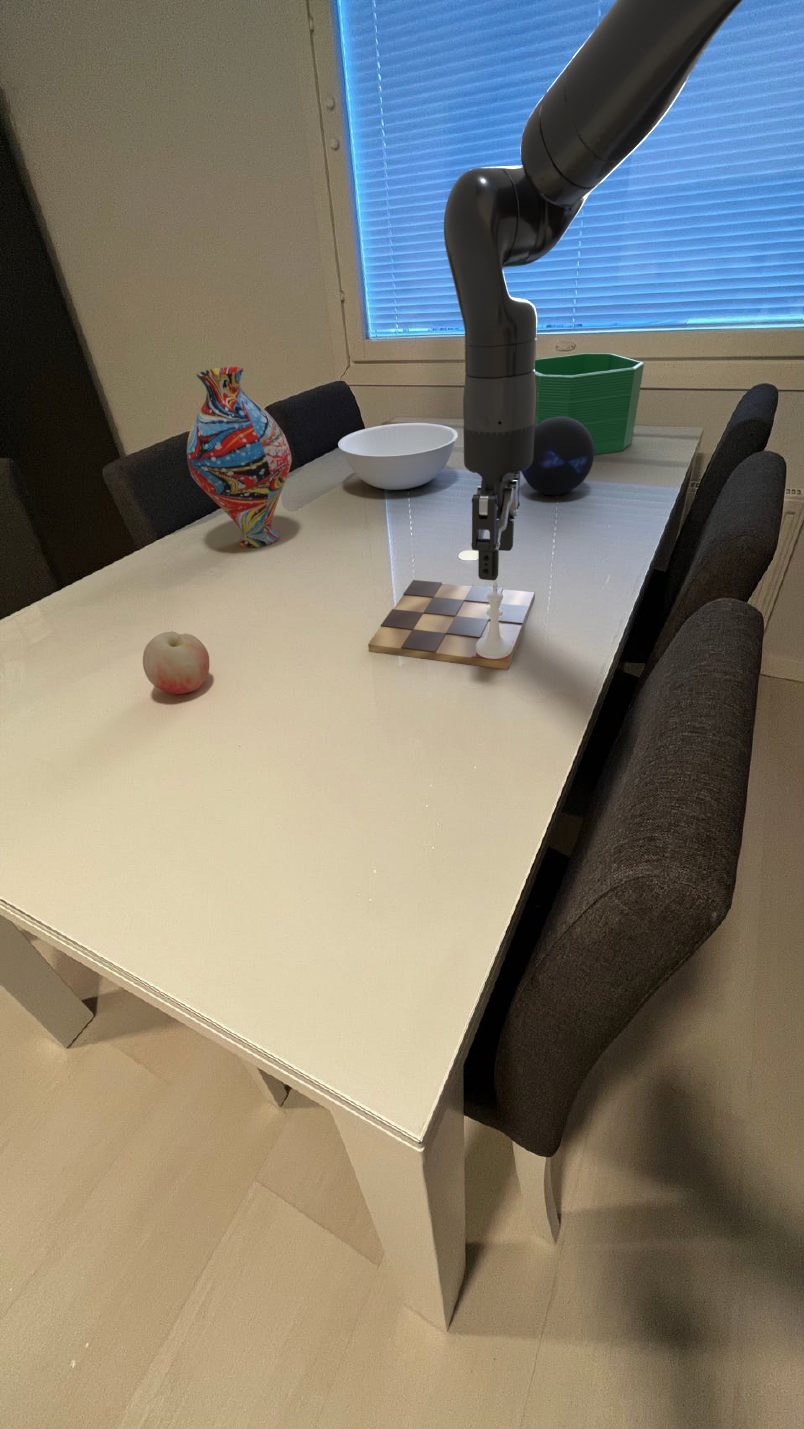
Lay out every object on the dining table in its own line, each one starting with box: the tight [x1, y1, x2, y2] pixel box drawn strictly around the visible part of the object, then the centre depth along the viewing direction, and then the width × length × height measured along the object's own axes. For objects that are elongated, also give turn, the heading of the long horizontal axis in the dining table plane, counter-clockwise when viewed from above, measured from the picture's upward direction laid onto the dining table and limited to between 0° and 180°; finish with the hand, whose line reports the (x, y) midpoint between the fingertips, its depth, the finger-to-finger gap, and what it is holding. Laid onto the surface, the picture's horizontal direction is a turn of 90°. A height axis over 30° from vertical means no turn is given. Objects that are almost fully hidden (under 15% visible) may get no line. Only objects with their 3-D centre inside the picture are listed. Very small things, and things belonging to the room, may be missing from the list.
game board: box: [367, 579, 536, 670], centre depth 89 cm, size 20×20×1 cm
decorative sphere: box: [521, 417, 595, 496], centre depth 125 cm, size 15×15×15 cm
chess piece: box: [476, 579, 512, 659], centre depth 78 cm, size 5×5×10 cm
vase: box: [186, 366, 292, 548], centre depth 113 cm, size 19×19×30 cm
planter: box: [535, 352, 645, 456], centre depth 152 cm, size 26×26×18 cm
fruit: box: [142, 631, 211, 695], centre depth 80 cm, size 8×8×8 cm
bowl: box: [337, 422, 459, 491], centre depth 140 cm, size 27×27×10 cm
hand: (496, 563), depth 74 cm, fingers open, 8 cm apart
